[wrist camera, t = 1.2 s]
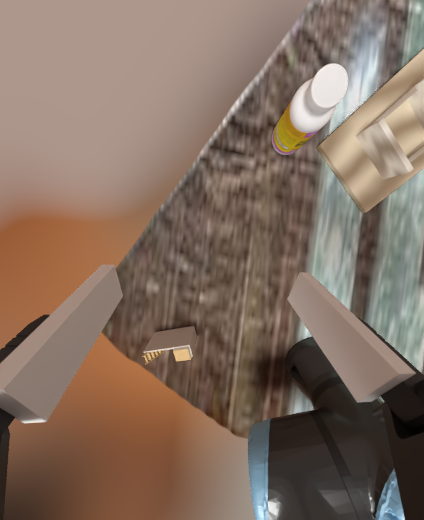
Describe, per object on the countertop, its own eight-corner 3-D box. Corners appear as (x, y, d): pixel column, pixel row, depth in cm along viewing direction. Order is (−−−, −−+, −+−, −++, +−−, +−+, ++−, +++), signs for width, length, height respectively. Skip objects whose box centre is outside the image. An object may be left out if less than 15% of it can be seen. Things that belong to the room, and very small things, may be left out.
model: (197, 335, 40) (192, 360, 33) (159, 340, 41) (145, 367, 34) (194, 324, 40) (188, 348, 32) (155, 330, 41) (141, 355, 33)
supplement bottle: (283, 163, 30) (322, 128, 19) (264, 138, 29) (292, 86, 18) (309, 138, 28) (366, 85, 17) (290, 111, 27) (337, 38, 17)
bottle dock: (465, 132, 27) (519, 112, 22) (361, 212, 31) (388, 210, 26) (422, 49, 25) (472, 7, 20) (316, 147, 29) (336, 132, 24)
